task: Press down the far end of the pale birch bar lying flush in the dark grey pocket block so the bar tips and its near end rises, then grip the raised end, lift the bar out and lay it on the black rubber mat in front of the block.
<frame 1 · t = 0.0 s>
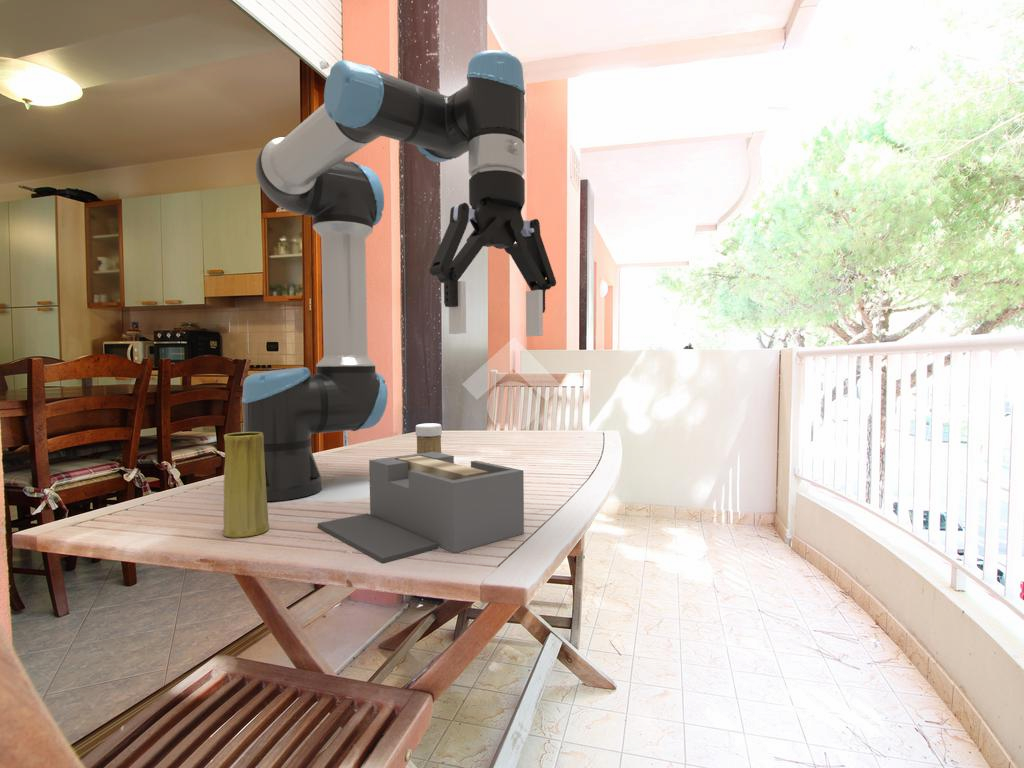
hand: (498, 335, 76), 28 cm above the table, tool pointing down, fingers open, 13 cm apart
sprinkles bottle: (429, 500, 99), on the table
vase: (246, 533, 81), on the table
pocket block: (444, 525, 83), on the table
birch bar: (440, 481, 84), point 6 cm above the table, touching pocket block
rubber mat: (373, 537, 78), on the table
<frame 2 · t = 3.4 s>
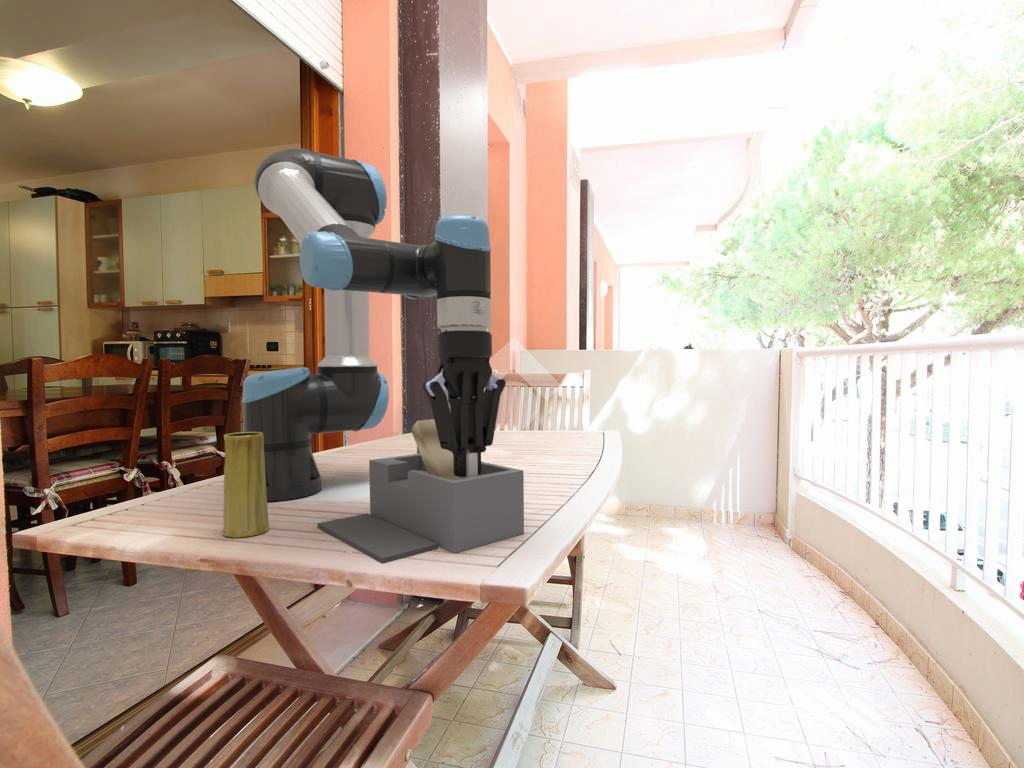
hand: (468, 498, 78), 5 cm above the table, tool pointing down, fingers closed
birch bar: (442, 478, 83), point 7 cm above the table, tilted 51°, touching gripper, pocket block
everything else where it was.
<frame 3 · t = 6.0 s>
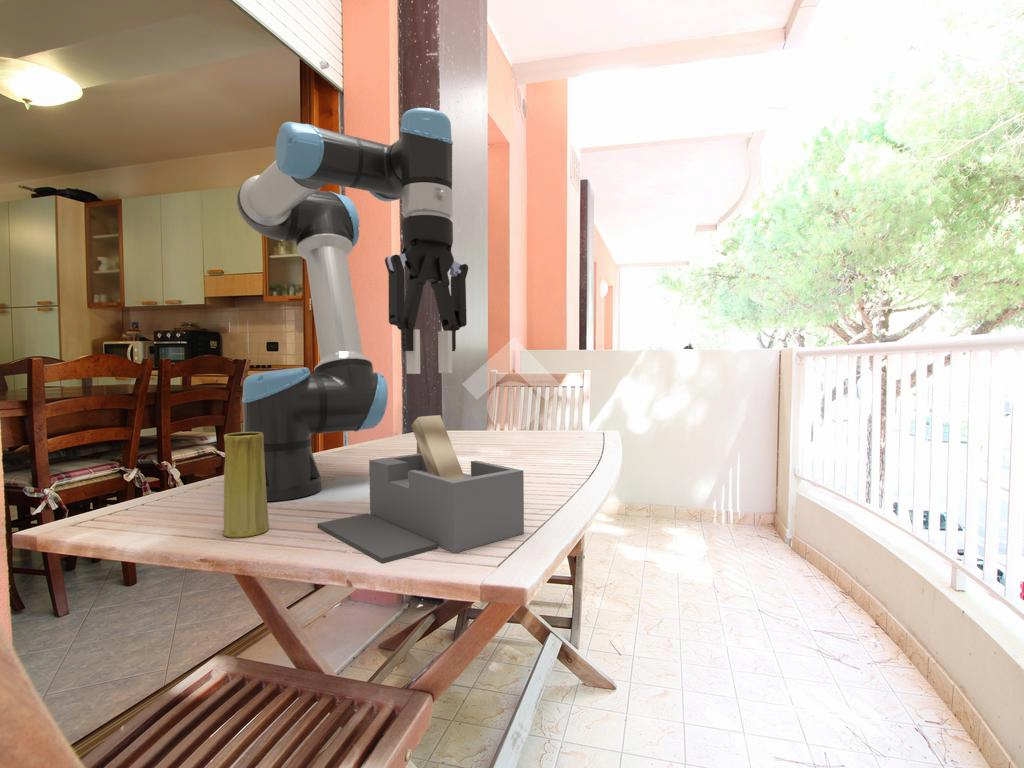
hand: (429, 373, 85), 23 cm above the table, tool pointing down, fingers open, 5 cm apart
birch bar: (441, 475, 83), point 7 cm above the table, tilted 55°, touching pocket block
everything else where it was.
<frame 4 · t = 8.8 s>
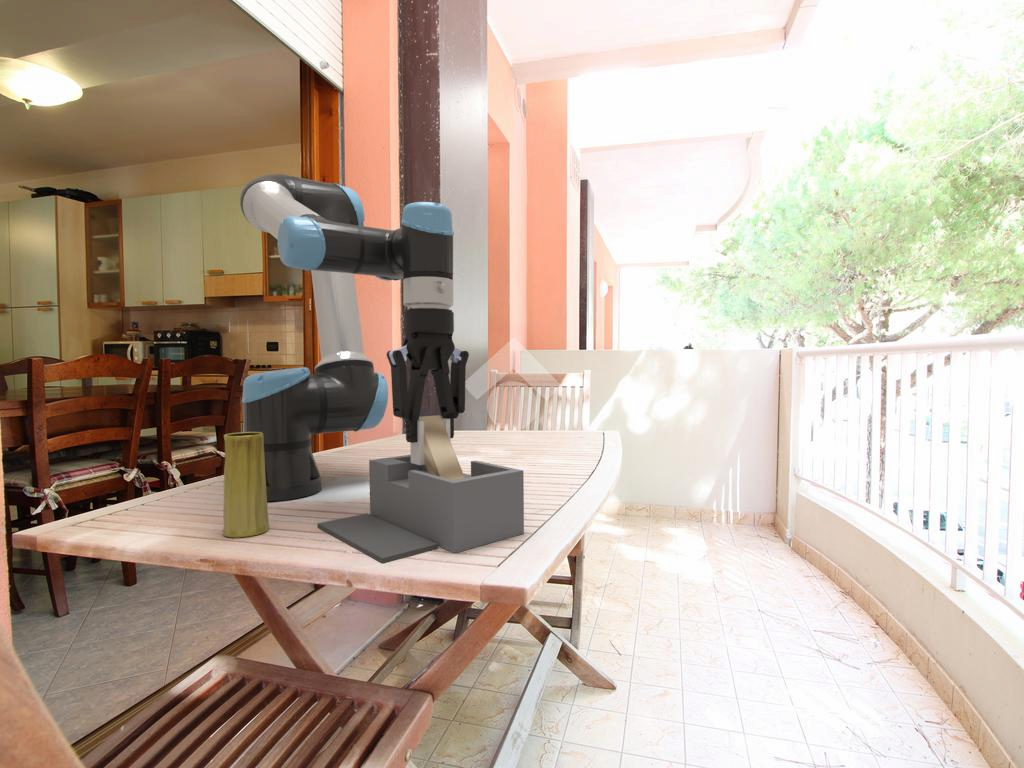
hand: (430, 461, 85), 9 cm above the table, tool pointing down, fingers closed on birch bar, 4 cm apart
birch bar: (441, 475, 83), point 7 cm above the table, tilted 55°, touching gripper, pocket block
everything else where it was.
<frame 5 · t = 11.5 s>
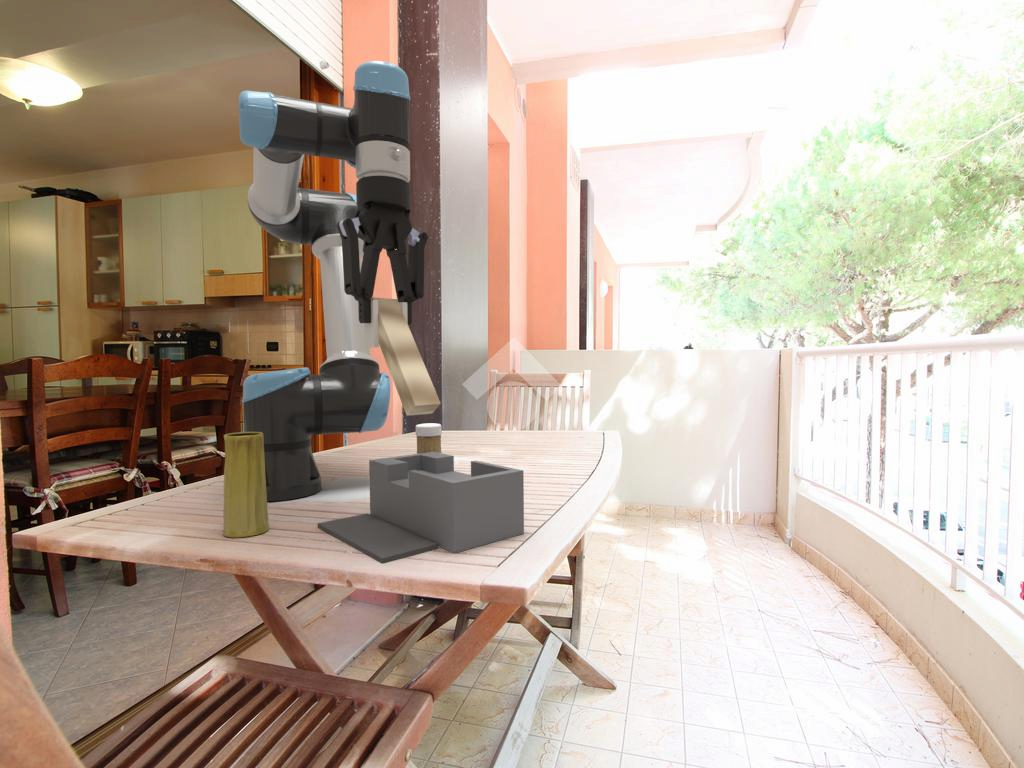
hand: (386, 347, 80), 27 cm above the table, tool pointing down, fingers closed on birch bar, 4 cm apart
birch bar: (397, 359, 78), point 25 cm above the table, tilted 55°, touching gripper
everything else where it was.
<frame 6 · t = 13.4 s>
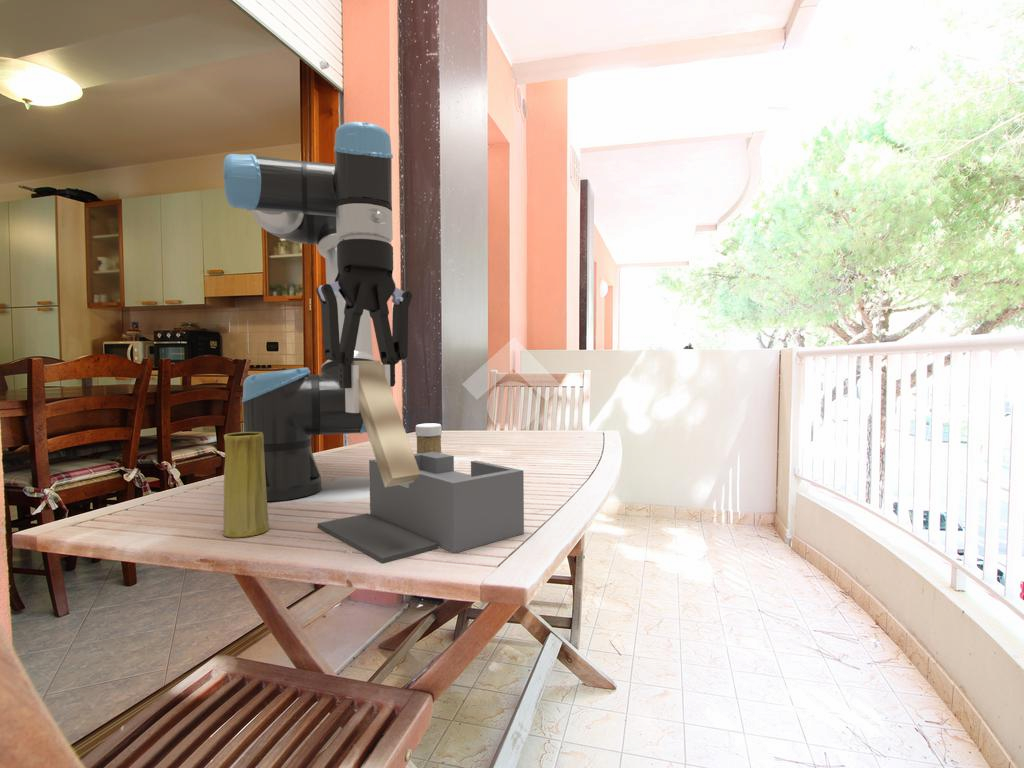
hand: (368, 410, 78), 18 cm above the table, tool pointing down, fingers closed on birch bar, 4 cm apart
birch bar: (378, 425, 76), point 16 cm above the table, tilted 54°, touching gripper
everything else where it was.
when the fingers open (12 cm above the table, at t = 14.7 s): birch bar drops 10 cm, resting on rubber mat.
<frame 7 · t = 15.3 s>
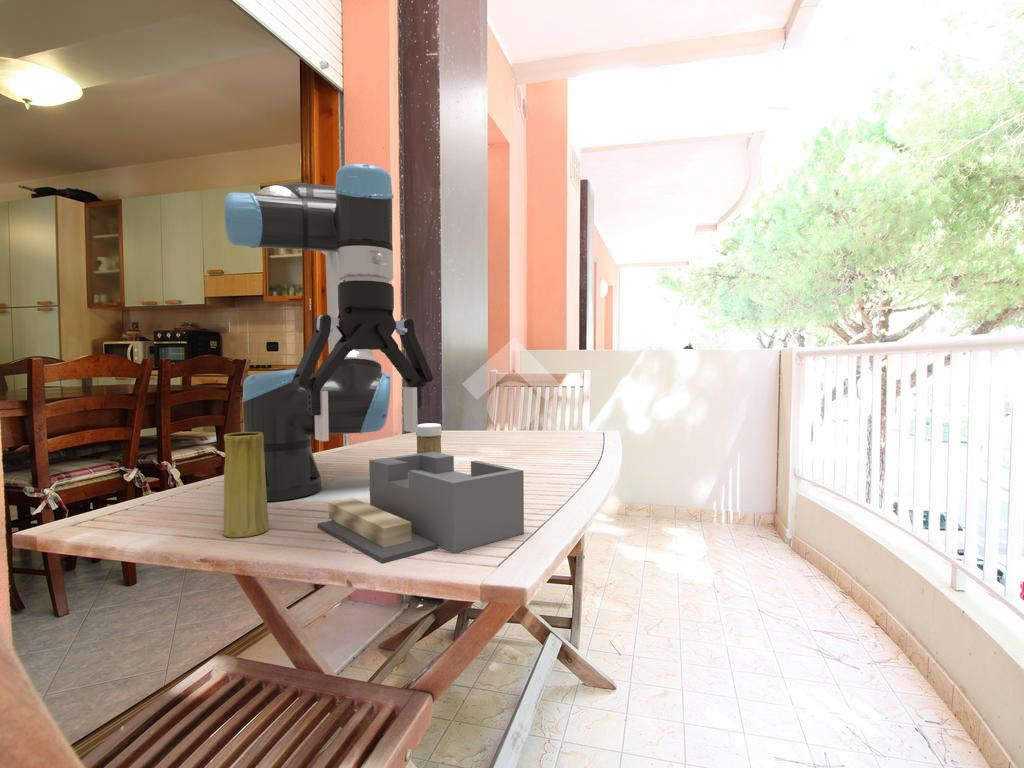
hand: (368, 435, 78), 14 cm above the table, tool pointing down, fingers open, 13 cm apart
birch bar: (367, 528, 80), point 1 cm above the table, touching rubber mat
everything else where it was.
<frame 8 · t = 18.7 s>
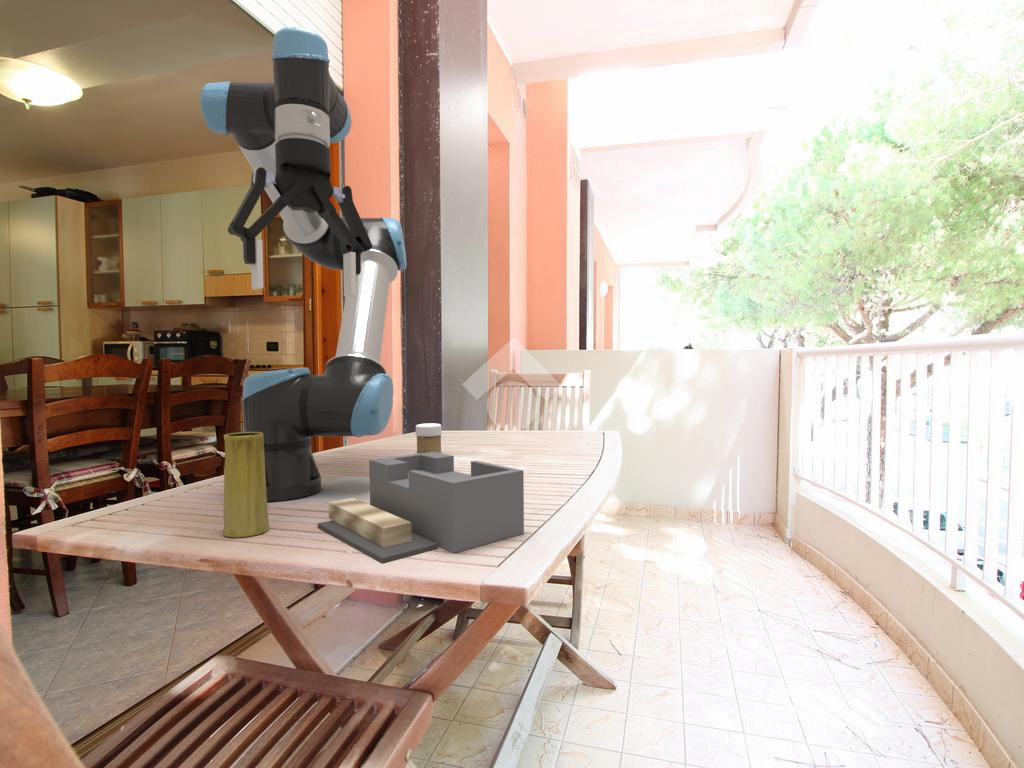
hand: (306, 292, 82), 35 cm above the table, tool pointing down, fingers open, 13 cm apart
nothing on the table moved.
at the end: birch bar inside the target area (3.1 cm from its centre), point 0.6 cm above the table; birch bar touching rubber mat; the gripper is holding nothing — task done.
